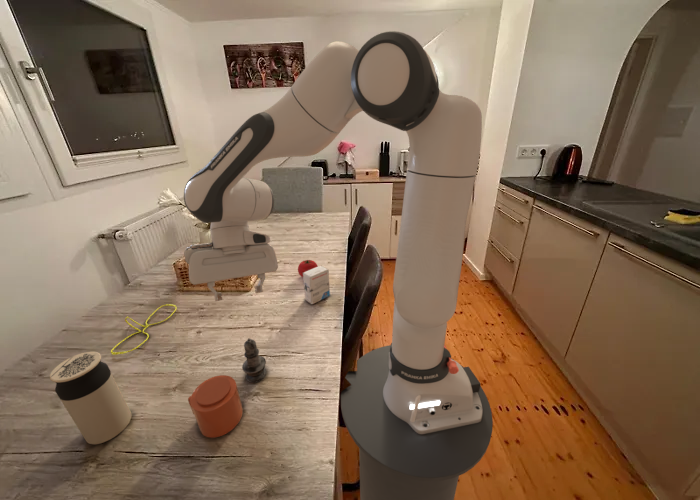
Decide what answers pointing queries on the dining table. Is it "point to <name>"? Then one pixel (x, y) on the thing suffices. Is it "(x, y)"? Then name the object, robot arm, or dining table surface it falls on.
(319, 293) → the ink box
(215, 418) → the coffee cup
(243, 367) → the grey chess piece
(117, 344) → the yellow rope bow
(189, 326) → the dining table surface
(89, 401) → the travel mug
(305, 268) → the tomato
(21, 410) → the dining table surface
